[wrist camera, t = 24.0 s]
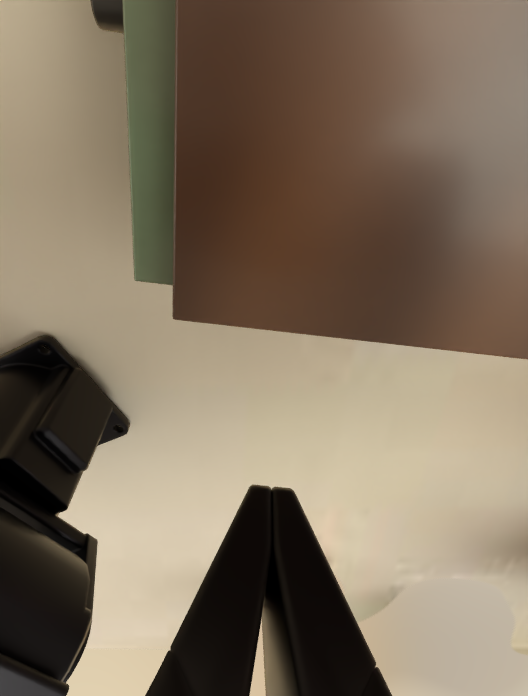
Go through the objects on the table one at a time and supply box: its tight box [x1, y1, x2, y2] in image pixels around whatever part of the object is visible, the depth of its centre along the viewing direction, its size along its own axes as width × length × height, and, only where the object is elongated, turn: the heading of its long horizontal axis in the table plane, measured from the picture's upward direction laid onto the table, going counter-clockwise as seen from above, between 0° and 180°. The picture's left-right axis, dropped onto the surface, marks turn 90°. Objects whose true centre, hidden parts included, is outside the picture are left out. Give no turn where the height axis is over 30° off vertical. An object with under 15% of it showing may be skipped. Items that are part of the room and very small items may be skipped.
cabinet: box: [173, 0, 528, 359], centre depth 12 cm, size 15×15×7 cm
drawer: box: [91, 0, 175, 285], centre depth 12 cm, size 15×13×5 cm
